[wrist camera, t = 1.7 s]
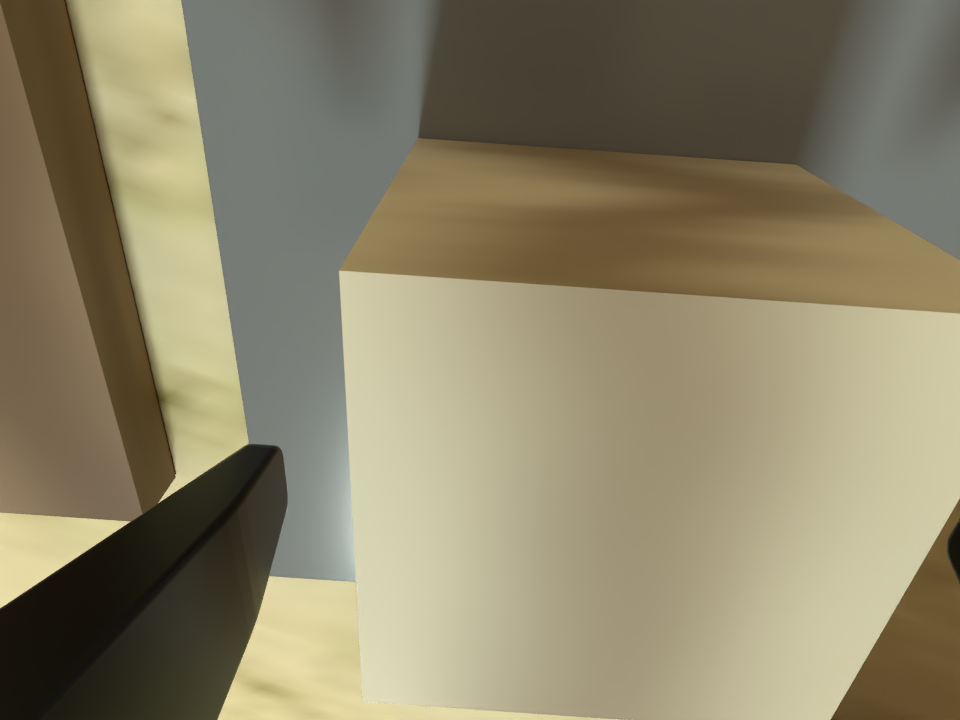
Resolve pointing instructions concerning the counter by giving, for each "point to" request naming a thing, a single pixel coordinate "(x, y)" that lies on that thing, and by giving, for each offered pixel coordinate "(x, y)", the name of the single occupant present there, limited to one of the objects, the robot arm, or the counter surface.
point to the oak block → (638, 432)
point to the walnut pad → (66, 297)
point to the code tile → (529, 122)
